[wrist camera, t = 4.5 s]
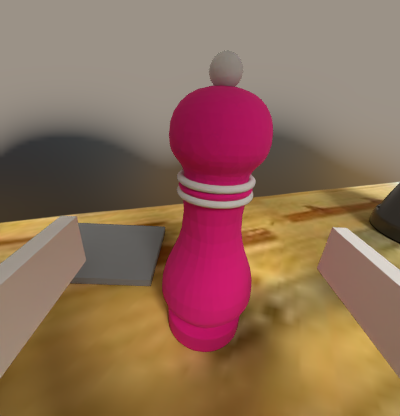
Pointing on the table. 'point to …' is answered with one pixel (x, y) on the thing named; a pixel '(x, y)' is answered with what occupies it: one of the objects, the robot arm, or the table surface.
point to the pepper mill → (214, 205)
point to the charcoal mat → (119, 254)
